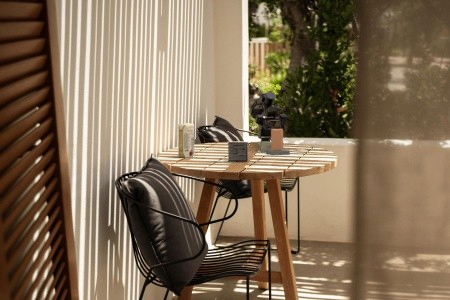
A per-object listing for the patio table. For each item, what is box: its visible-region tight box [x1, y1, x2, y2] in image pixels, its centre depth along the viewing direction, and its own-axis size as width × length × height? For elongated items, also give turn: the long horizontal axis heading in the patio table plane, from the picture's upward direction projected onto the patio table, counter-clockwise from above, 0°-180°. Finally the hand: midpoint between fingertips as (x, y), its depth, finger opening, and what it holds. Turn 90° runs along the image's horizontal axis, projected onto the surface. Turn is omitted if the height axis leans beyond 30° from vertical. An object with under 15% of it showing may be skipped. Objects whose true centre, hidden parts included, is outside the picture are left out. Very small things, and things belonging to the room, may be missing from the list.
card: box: [291, 148, 308, 153], centre depth 477 cm, size 8×8×1 cm
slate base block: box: [265, 147, 291, 156], centre depth 463 cm, size 11×11×3 cm
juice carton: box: [177, 122, 195, 159], centre depth 450 cm, size 8×9×19 cm
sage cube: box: [258, 140, 272, 153], centre depth 473 cm, size 6×6×6 cm
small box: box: [227, 141, 249, 163], centre depth 434 cm, size 11×6×10 cm, turn 84°
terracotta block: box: [270, 128, 284, 150], centre depth 462 cm, size 6×6×12 cm
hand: (273, 129), depth 469 cm, fingers open, 9 cm apart
